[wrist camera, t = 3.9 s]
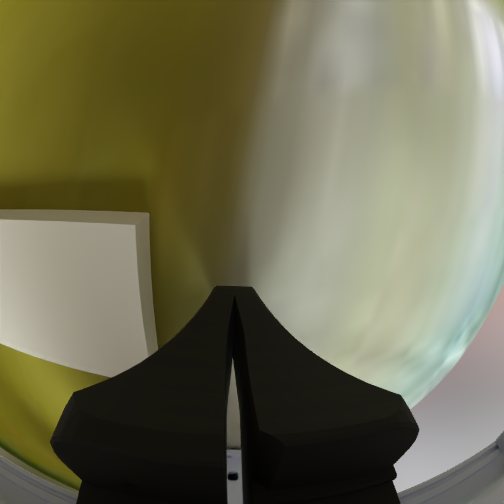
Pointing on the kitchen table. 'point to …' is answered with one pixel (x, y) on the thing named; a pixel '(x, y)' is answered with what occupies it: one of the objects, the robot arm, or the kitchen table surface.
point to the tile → (77, 287)
